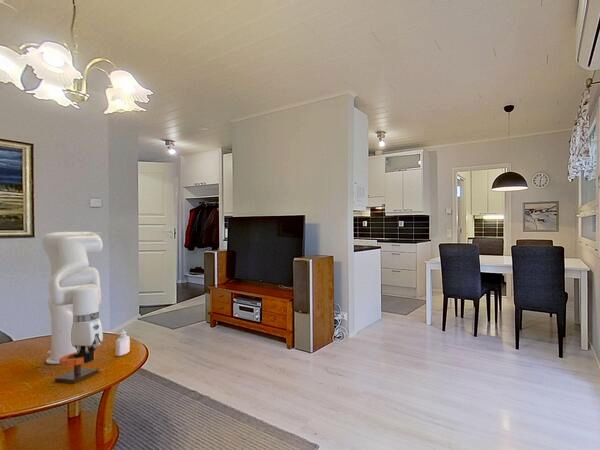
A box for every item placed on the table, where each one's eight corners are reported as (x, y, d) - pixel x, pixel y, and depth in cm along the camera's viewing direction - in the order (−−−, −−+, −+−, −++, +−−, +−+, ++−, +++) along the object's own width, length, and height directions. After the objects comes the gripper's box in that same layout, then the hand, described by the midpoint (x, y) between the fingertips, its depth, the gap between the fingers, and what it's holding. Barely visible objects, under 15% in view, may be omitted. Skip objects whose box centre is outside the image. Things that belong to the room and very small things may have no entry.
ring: (52, 365, 123) (52, 359, 123) (81, 355, 133) (81, 349, 133) (74, 367, 122) (74, 361, 122) (101, 356, 132) (101, 350, 132)
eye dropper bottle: (131, 352, 151) (132, 328, 151) (116, 357, 146) (117, 332, 146) (128, 350, 153) (128, 327, 153) (113, 355, 148) (113, 330, 148)
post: (54, 381, 123) (54, 357, 123) (80, 371, 132) (80, 348, 132) (73, 383, 122) (74, 358, 122) (98, 372, 131) (98, 349, 131)
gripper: (112, 315, 129) (112, 358, 129) (80, 313, 131) (80, 356, 131) (92, 321, 122) (92, 366, 122) (58, 319, 124) (58, 364, 124)
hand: (86, 361), depth 127 cm, fingers closed on ring, 2 cm apart
